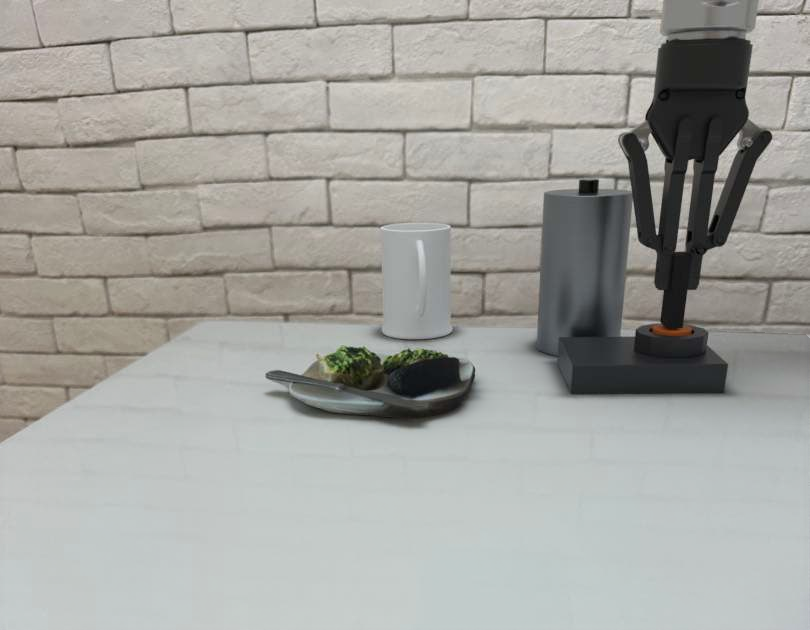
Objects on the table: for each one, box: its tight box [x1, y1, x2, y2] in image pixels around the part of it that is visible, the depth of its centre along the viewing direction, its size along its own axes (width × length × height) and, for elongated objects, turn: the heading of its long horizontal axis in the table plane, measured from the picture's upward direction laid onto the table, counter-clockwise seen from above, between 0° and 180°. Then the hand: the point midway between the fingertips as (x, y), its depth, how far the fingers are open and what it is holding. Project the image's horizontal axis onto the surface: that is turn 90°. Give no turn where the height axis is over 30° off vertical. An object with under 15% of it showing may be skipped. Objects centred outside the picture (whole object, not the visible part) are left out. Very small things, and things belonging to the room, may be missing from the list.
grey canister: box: [536, 178, 633, 357], centre depth 91 cm, size 9×9×17 cm
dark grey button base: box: [556, 322, 729, 395], centre depth 83 cm, size 14×11×4 cm
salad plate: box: [265, 345, 476, 419], centre depth 80 cm, size 19×18×5 cm
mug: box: [380, 222, 453, 340], centre depth 99 cm, size 12×8×12 cm
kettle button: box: [652, 324, 692, 336], centre depth 82 cm, size 4×4×2 cm
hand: (671, 324), depth 81 cm, fingers closed
